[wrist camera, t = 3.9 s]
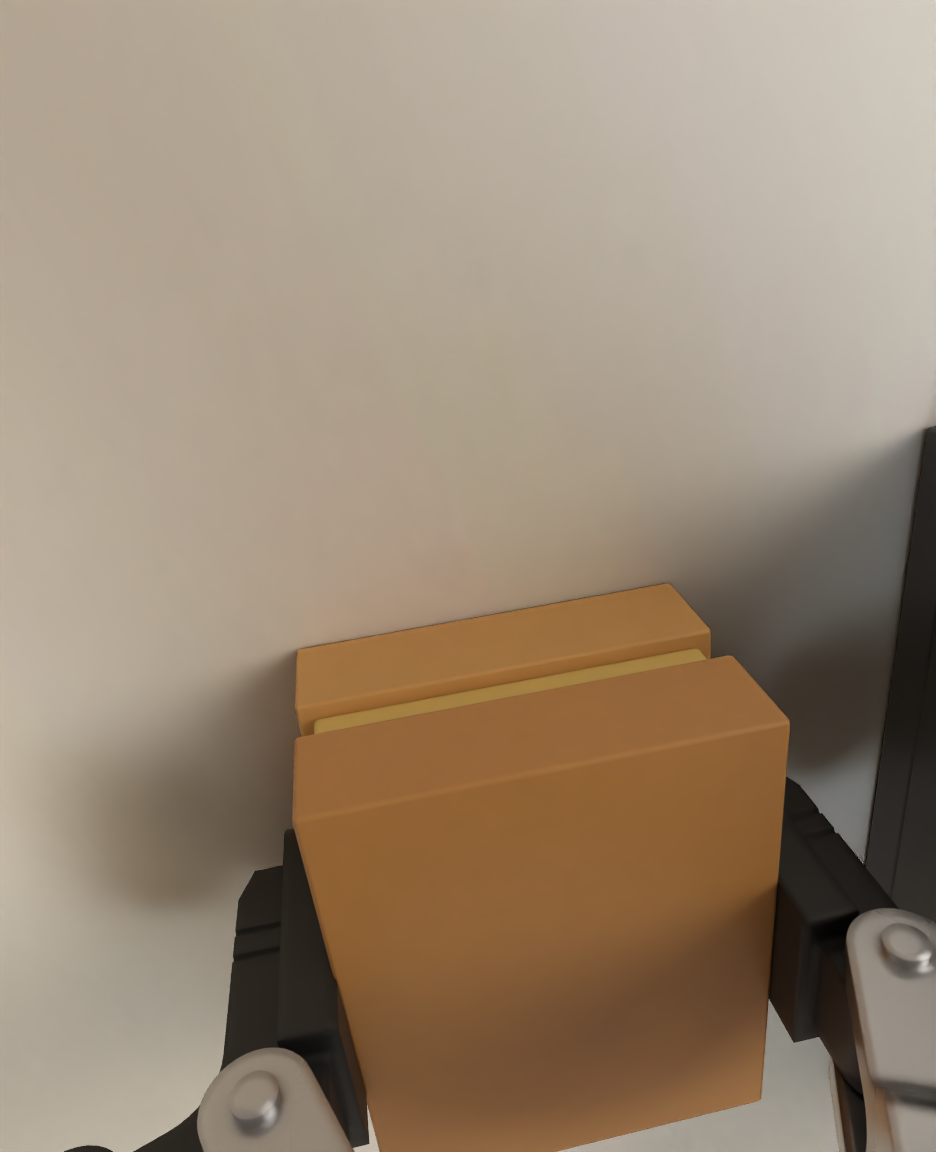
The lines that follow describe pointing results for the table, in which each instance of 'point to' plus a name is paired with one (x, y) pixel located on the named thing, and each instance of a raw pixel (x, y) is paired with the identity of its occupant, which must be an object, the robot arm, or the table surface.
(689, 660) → the sandwich
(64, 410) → the table surface
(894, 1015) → the robot arm
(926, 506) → the open black box
